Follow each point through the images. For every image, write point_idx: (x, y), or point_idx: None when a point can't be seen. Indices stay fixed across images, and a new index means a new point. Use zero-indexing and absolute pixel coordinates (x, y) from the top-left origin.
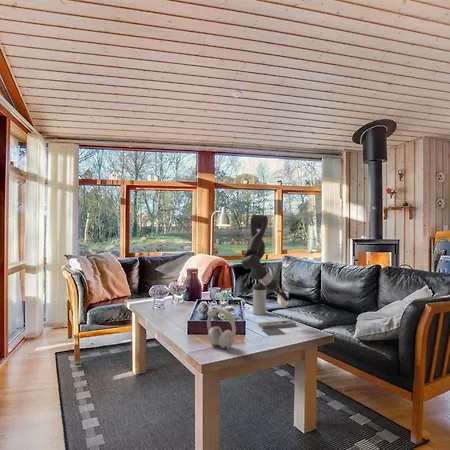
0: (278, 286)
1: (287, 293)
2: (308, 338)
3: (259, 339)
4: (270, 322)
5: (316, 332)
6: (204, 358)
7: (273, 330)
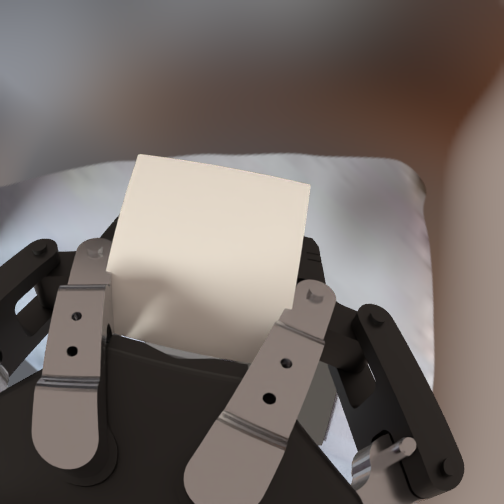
0: (256, 501)
1: (304, 213)
2: (419, 278)
3: None
4: (160, 346)
5: (366, 180)
6: None
7: None
